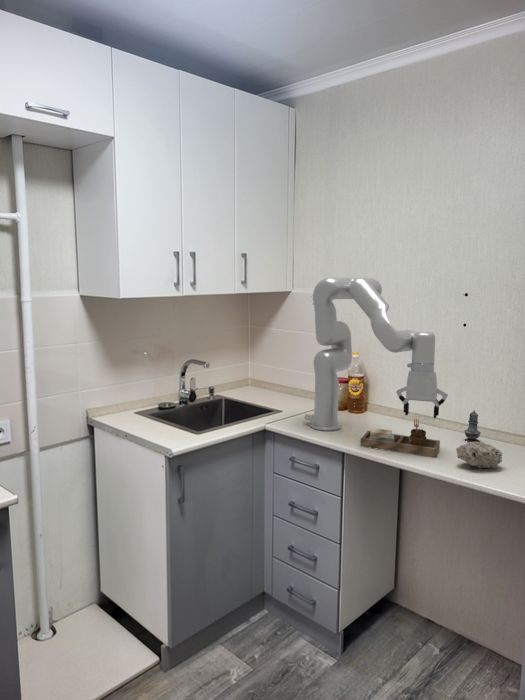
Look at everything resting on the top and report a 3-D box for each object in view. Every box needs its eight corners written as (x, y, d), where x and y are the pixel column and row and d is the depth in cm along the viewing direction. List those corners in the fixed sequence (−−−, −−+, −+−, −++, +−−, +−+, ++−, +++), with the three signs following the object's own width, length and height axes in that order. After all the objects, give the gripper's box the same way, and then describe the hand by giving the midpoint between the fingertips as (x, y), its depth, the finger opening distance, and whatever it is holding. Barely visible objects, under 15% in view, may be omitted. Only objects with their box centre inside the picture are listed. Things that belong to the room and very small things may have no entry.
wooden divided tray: (360, 446, 194) (360, 438, 194) (367, 438, 204) (368, 430, 204) (435, 457, 183) (436, 449, 183) (439, 448, 193) (440, 440, 193)
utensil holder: (428, 449, 192) (430, 416, 191) (422, 454, 187) (424, 420, 185) (411, 446, 195) (413, 414, 194) (405, 450, 190) (407, 417, 189)
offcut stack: (367, 446, 194) (368, 432, 194) (369, 441, 201) (369, 427, 200) (393, 449, 192) (394, 434, 191) (394, 443, 199) (395, 429, 198)
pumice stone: (473, 475, 168) (475, 450, 167) (446, 462, 179) (448, 439, 178) (506, 469, 173) (509, 445, 172) (479, 458, 184) (481, 435, 183)
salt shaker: (481, 443, 200) (484, 412, 198) (464, 442, 201) (467, 411, 200) (478, 439, 206) (480, 408, 204) (462, 438, 207) (464, 407, 205)
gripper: (395, 367, 187) (393, 415, 189) (447, 370, 180) (445, 420, 182) (399, 364, 194) (397, 411, 196) (449, 367, 187) (447, 416, 189)
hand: (420, 415), depth 189 cm, fingers open, 9 cm apart
